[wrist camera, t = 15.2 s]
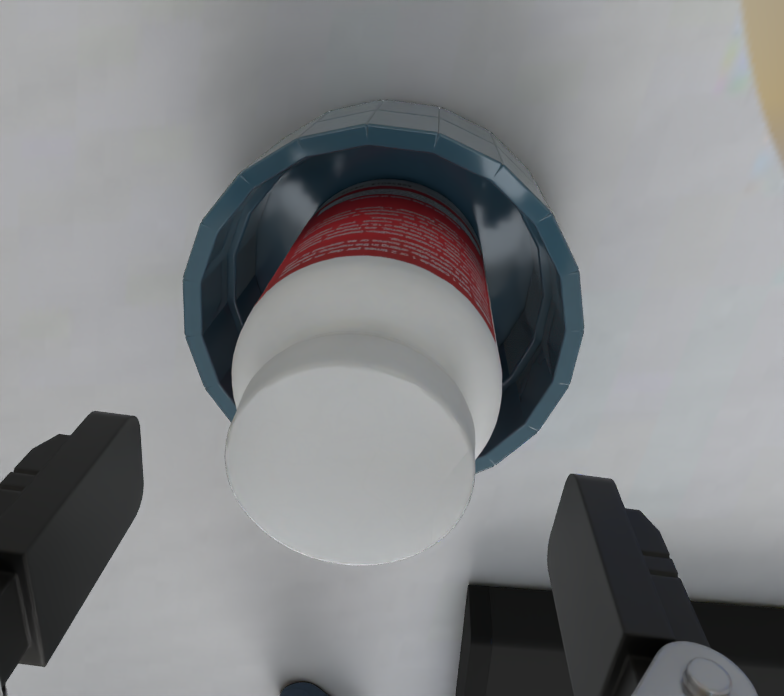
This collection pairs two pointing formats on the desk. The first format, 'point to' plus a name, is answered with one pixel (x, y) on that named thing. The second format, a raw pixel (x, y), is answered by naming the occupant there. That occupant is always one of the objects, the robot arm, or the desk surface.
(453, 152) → the blue-grey round tub
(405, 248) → the pill bottle
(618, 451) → the desk surface
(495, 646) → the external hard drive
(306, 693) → the vaping device
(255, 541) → the desk surface
